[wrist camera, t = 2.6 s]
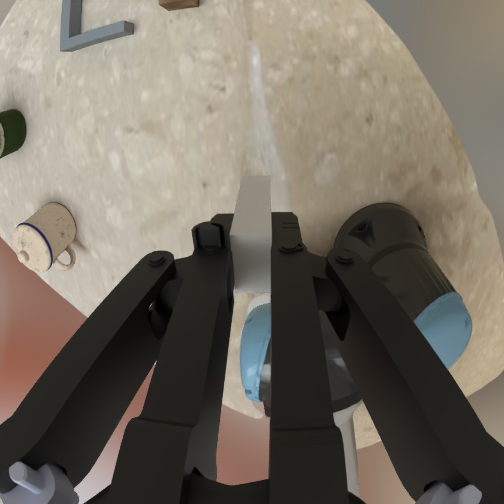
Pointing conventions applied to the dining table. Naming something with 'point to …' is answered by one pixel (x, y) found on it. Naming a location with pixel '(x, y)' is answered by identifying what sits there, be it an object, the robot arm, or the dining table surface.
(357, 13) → the dining table surface
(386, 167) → the dining table surface
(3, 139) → the wine bottle
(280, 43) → the dining table surface
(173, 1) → the t block
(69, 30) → the dock
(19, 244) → the teacup with lid
